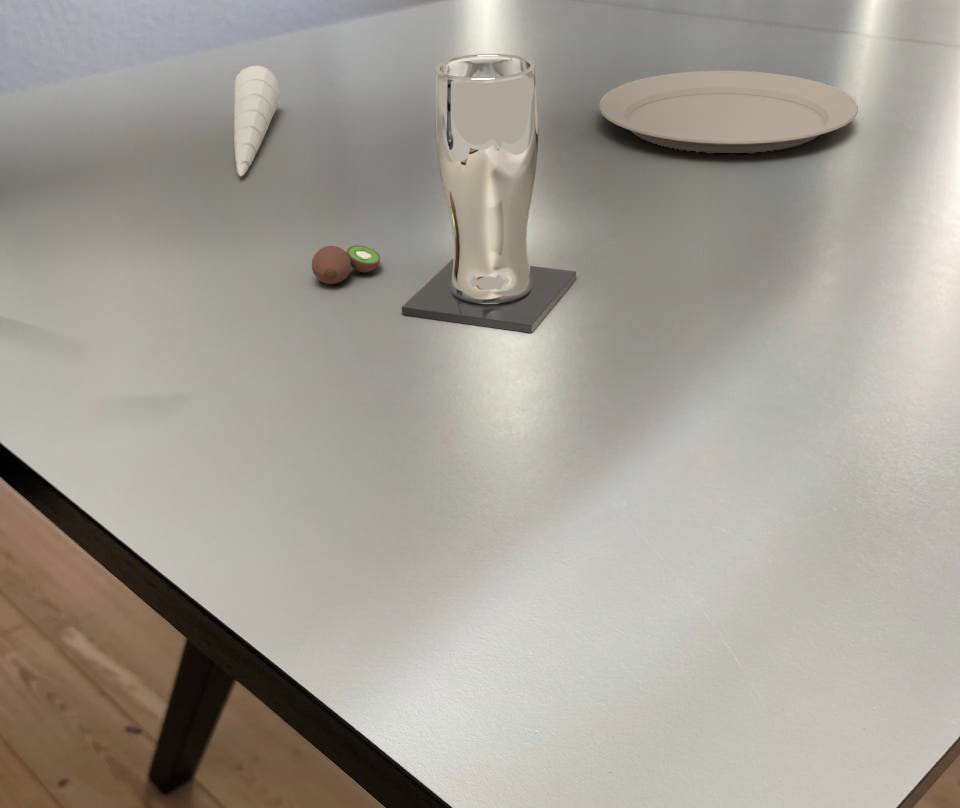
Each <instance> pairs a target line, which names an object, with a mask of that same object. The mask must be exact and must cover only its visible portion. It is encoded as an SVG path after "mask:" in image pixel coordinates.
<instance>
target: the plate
mask: <svg viewBox="0 0 960 808" xmlns="http://www.w3.org/2000/svg"><path fill="white" fill-rule="evenodd" d="M598 108H599V112H600V114H601V115H602V116H603V117H604V118H605V119H606V120H607V121H609V122H611V123H613V124H614V125H617V126H619V127H621V128H623V129H626V130H629V131H630V132H631V133H632V134H633V133H634V134H633V135H635V136H636V137H637V136H638V137H637V138H639V137H640V138H639V139H641V140H644V141H645V140H646V141H645V142H647V143H650V142H651V144H654V145H656V144H657V145H656V146H659V145H660V147H663V146H664V148H667V147H668V148H667V149H672V148H674V149H673V150H677V149H679V150H678V151H683V150H686V151H685V152H690V151H696V152H695V153H699V152H710V153H709V154H713V153H748V154H756V153H755V152H761V153H768V152H767V151H770V152H775V151H774V150H777V151H781V150H787V149H792V148H795V147H798V146H801V145H804V144H807V143H809V142H811V141H813V140H815V139H816V138H818V137H819V136H820V135H823V134H827V133H830V132H833V131H835V130H838V129H840V128H843V127H845V126H847V125H849V123H851V122H853V120H854V119H855V118H856V117H857V115H858V113H859V106H858V104H857V101H856V100H855V99H854V98H853V97H852V96H851V95H849V93H847V92H845V91H843V90H842V89H839V88H837V87H835V86H833V85H829V84H827V83H823V82H820V81H817V80H813V79H808V78H804V77H798V76H794V75H786V74H779V73H770V72H762V71H761V72H760V71H748V70H747V71H745V70H701V71H698V70H697V71H685V72H674V73H667V74H660V75H654V76H648V77H644V78H640V79H636V80H632V81H629V82H626V83H623V84H621V85H618V86H616V87H614V88H612V89H610V90H608V91H607V92H606V93H605V94H604V95H603V96H602V97H601V99H600V101H599V103H598ZM697 151H698V152H697Z"/></svg>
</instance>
